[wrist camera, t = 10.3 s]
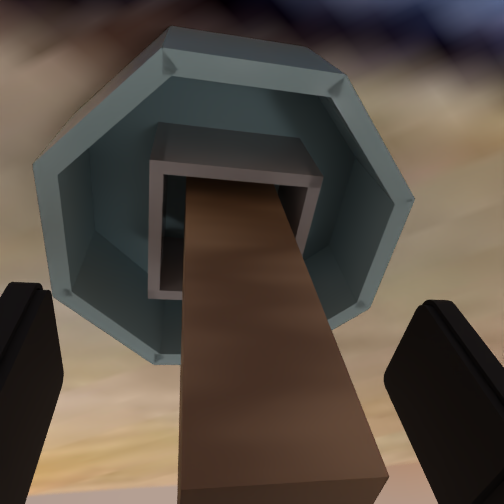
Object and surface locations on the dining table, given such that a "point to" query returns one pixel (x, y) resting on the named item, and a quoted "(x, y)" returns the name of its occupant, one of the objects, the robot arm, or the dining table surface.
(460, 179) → the dining table surface
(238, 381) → the wood grain block
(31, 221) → the dining table surface
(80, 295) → the octagonal socket dish
